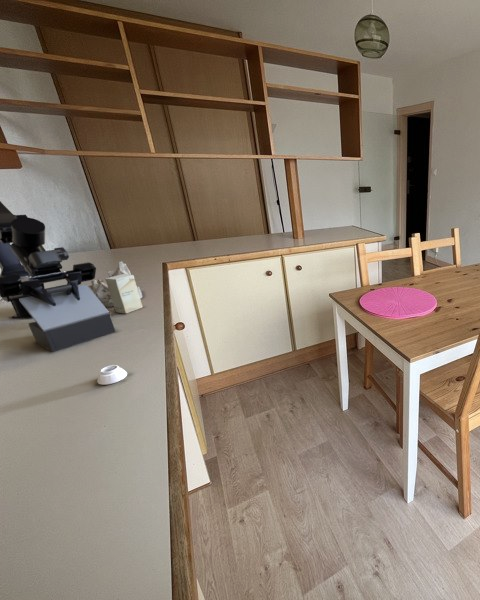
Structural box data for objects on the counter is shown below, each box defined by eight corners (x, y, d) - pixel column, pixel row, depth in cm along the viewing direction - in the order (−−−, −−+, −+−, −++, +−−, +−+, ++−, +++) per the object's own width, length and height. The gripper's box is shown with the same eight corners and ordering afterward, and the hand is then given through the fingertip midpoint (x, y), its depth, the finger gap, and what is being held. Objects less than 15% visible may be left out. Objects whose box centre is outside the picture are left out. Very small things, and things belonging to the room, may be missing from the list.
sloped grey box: (36, 342, 86) (28, 323, 84) (98, 324, 98) (92, 307, 96) (52, 352, 82) (44, 332, 80) (115, 331, 93) (109, 314, 91)
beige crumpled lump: (144, 289, 127) (131, 253, 121) (141, 303, 115) (125, 264, 109) (94, 298, 120) (77, 260, 113) (84, 314, 107) (64, 273, 101)
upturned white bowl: (129, 378, 72) (124, 370, 75) (126, 368, 71) (120, 360, 74) (101, 389, 68) (96, 380, 71) (96, 377, 67) (92, 369, 70)
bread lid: (19, 300, 81) (17, 289, 79) (86, 286, 93) (86, 275, 90) (43, 331, 80) (42, 320, 77) (109, 313, 91) (109, 303, 89)
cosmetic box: (126, 314, 105) (115, 279, 101) (115, 312, 106) (103, 278, 102) (143, 307, 111) (134, 274, 107) (133, 306, 112) (123, 273, 107)
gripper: (-23, 244, 73) (14, 296, 73) (81, 234, 89) (113, 276, 88) (-18, 273, 80) (17, 320, 79) (78, 258, 95) (108, 298, 94)
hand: (67, 302), depth 85 cm, fingers closed on bread lid, 4 cm apart
